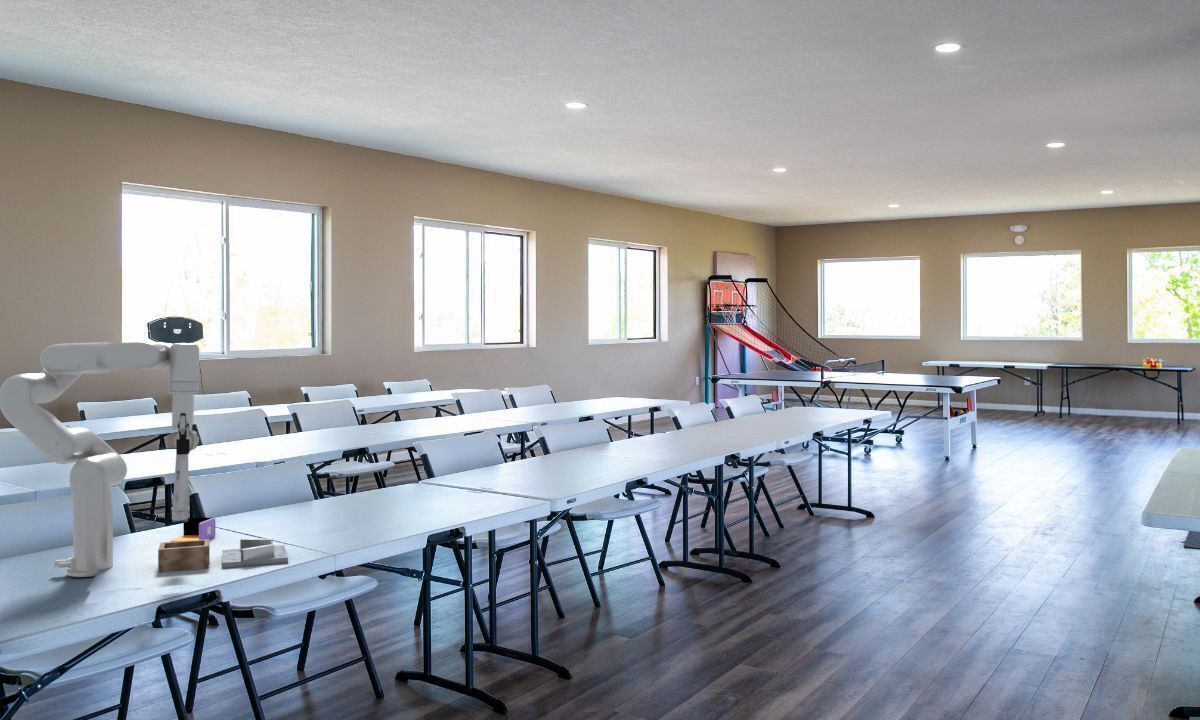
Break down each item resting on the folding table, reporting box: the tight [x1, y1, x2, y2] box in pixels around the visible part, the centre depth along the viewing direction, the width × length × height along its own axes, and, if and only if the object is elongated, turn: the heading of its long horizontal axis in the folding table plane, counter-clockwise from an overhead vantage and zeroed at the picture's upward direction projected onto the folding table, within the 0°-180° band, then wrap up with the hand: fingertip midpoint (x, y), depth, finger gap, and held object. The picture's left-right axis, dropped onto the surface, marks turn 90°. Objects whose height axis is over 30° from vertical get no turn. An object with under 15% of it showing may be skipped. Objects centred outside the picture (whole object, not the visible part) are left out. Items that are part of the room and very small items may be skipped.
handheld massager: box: [170, 429, 200, 524], centre depth 248 cm, size 5×7×25 cm
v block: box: [221, 538, 289, 569], centre depth 257 cm, size 17×18×4 cm
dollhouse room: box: [169, 517, 216, 542], centre depth 283 cm, size 12×12×7 cm
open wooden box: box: [157, 538, 211, 573], centre depth 248 cm, size 12×10×6 cm
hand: (183, 452), depth 248 cm, fingers closed on handheld massager, 6 cm apart
